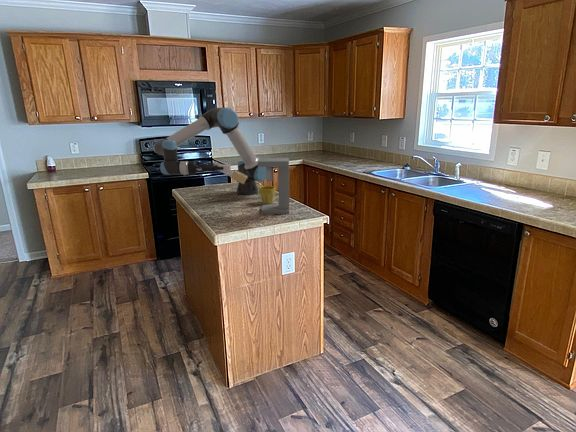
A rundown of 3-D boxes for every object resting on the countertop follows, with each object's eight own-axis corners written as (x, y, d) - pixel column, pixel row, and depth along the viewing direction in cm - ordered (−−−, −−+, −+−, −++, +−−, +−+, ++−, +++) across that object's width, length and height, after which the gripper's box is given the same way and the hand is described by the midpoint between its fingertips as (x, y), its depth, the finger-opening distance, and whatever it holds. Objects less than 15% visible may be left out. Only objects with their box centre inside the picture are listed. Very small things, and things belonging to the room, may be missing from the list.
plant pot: (256, 203, 236) (256, 188, 233) (263, 199, 245) (263, 185, 242) (271, 205, 232) (271, 189, 229) (278, 201, 241) (277, 186, 238)
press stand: (261, 208, 226) (259, 158, 217) (289, 207, 226) (288, 158, 217) (259, 213, 215) (257, 161, 206) (289, 213, 214) (288, 161, 206)
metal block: (214, 165, 216) (217, 159, 215) (244, 182, 218) (247, 176, 217) (211, 167, 210) (215, 161, 209) (243, 184, 213) (246, 178, 212)
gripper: (193, 171, 222) (232, 171, 222) (185, 177, 207) (228, 176, 206) (191, 159, 220) (231, 158, 220) (184, 163, 204) (227, 163, 204)
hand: (229, 167), depth 213 cm, fingers closed on metal block, 3 cm apart
